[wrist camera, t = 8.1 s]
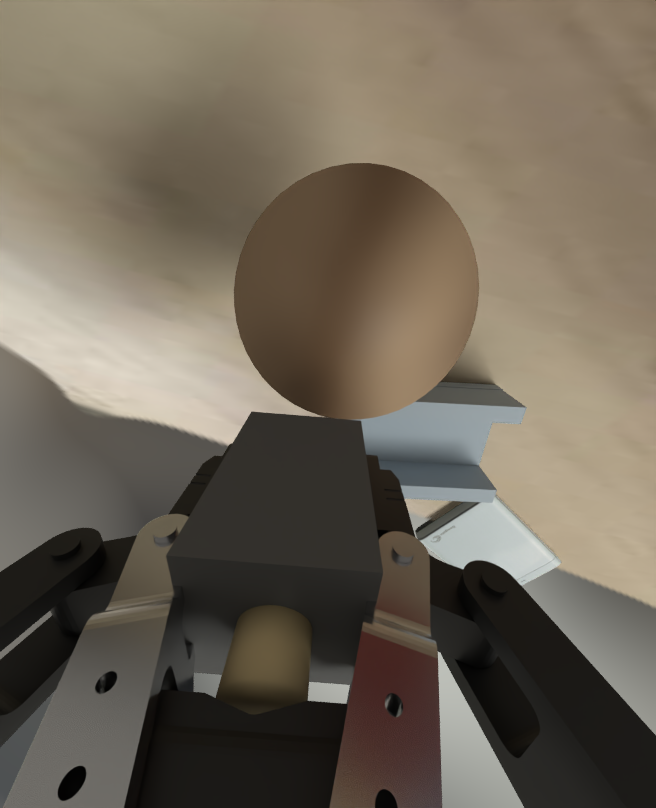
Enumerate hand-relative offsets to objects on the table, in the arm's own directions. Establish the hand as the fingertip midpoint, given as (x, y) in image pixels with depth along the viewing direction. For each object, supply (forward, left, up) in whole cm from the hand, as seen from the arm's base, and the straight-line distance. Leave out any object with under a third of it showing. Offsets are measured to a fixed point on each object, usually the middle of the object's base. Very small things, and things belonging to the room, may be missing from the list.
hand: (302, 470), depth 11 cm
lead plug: (0, 0, -1) cm, 1 cm away
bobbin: (-2, -5, -12) cm, 14 cm away
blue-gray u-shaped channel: (-8, +5, -12) cm, 15 cm away
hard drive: (-18, +17, -13) cm, 28 cm away
